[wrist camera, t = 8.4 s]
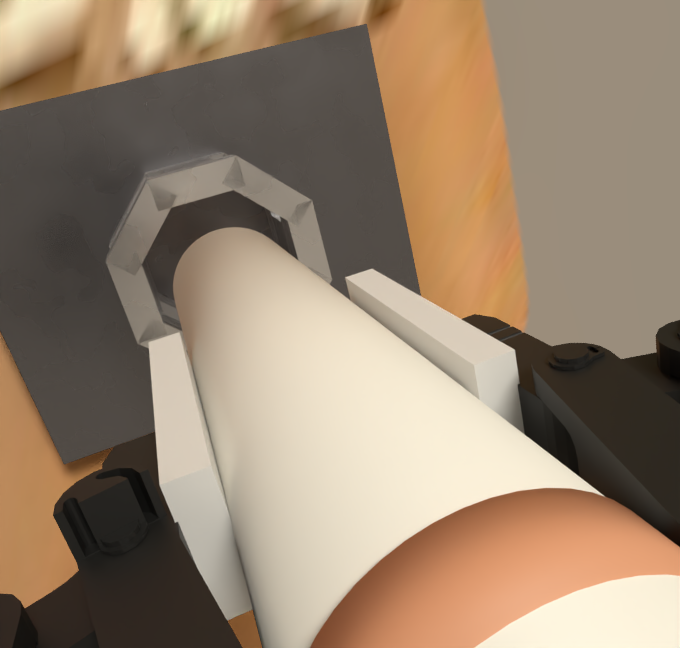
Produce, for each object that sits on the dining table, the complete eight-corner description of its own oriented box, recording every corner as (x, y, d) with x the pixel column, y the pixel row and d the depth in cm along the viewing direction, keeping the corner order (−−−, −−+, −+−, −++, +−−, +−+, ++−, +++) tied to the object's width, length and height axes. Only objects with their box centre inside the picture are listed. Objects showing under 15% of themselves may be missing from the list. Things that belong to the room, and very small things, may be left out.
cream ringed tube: (194, 361, 23) (612, 1894, 3) (153, 247, 21) (472, 1941, 1) (307, 322, 24) (1199, 1292, 4) (276, 210, 22) (1522, 885, 2)
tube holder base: (66, 450, 32) (51, 523, 26) (-83, 133, 26) (-146, 133, 20) (417, 325, 36) (473, 363, 30) (355, 28, 30) (410, 3, 24)
